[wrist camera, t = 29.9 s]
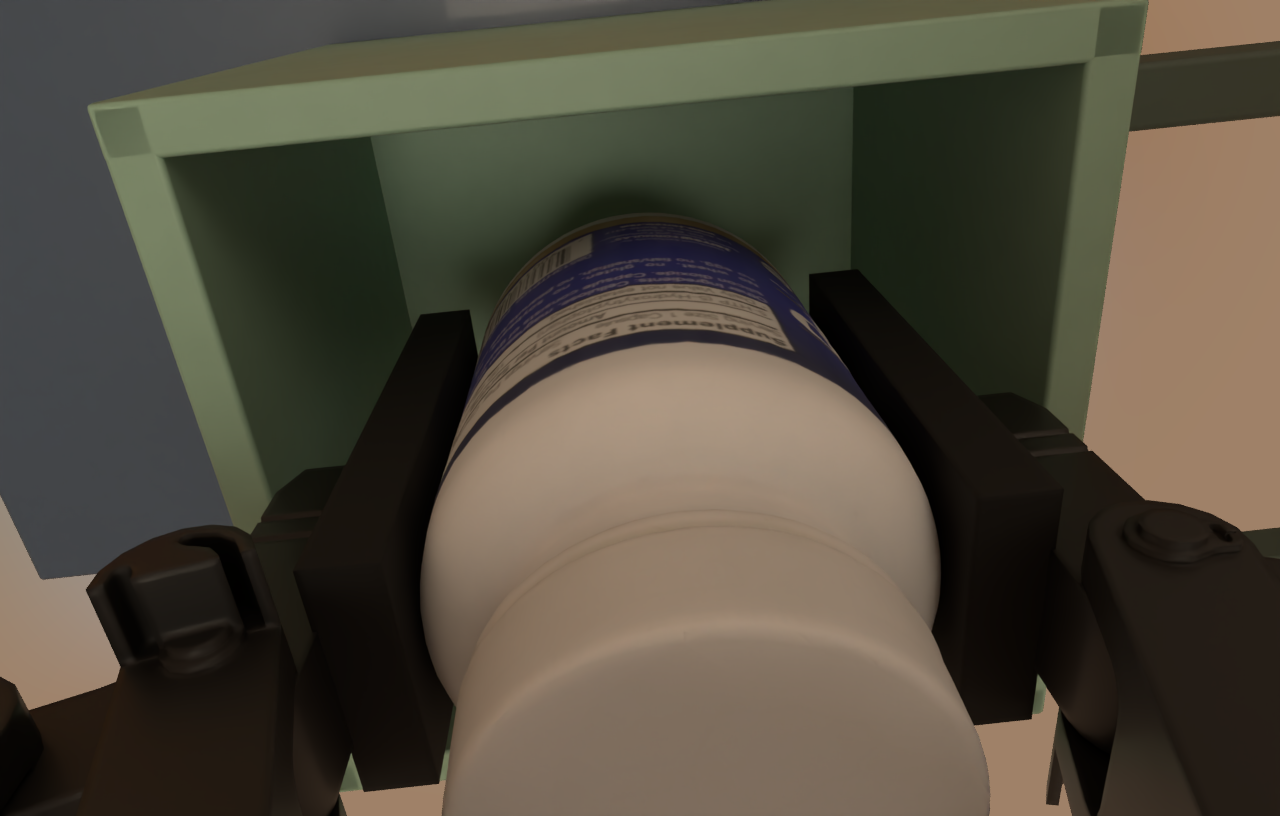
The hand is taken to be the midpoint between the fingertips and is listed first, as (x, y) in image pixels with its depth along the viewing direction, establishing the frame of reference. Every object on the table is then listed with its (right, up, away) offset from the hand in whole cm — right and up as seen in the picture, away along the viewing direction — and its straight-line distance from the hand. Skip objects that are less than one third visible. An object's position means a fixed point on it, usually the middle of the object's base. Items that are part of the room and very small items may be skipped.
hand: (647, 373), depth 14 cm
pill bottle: (0, 0, 0) cm, 0 cm away
